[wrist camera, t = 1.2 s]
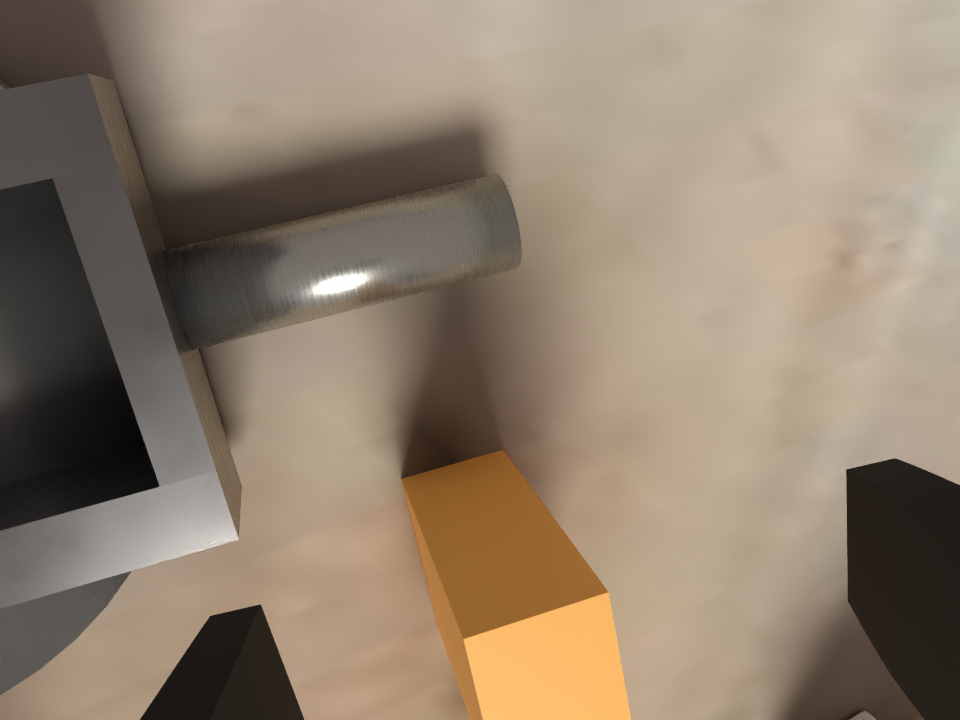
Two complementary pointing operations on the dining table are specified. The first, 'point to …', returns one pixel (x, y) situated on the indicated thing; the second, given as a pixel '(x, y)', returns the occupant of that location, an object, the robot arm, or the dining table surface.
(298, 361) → the dining table surface
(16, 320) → the rosette joint
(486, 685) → the orange rectangular block
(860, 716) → the medicine box
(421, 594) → the dining table surface
